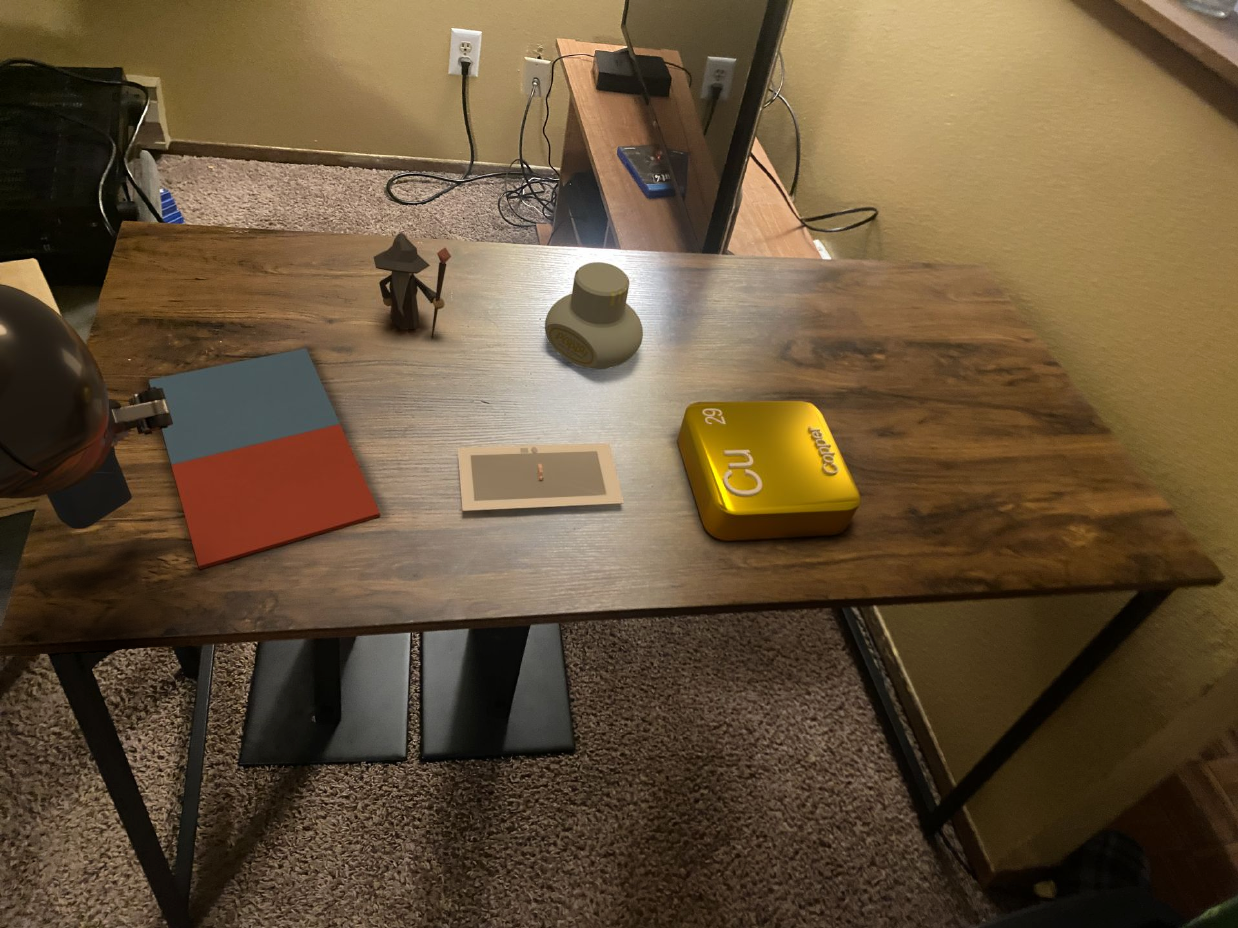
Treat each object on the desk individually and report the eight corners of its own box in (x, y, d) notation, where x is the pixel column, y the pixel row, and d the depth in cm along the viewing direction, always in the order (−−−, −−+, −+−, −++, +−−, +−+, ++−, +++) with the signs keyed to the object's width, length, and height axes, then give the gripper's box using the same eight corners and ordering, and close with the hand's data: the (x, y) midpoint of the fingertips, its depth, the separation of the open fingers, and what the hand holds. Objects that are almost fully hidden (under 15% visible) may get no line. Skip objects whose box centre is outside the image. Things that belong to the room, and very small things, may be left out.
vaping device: (141, 496, 65) (95, 379, 56) (76, 537, 61) (17, 420, 53) (118, 479, 65) (70, 362, 57) (53, 519, 62) (-8, 401, 53)
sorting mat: (199, 569, 68) (198, 566, 68) (149, 383, 81) (148, 379, 81) (380, 516, 75) (379, 513, 74) (306, 351, 88) (306, 347, 87)
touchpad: (622, 510, 79) (625, 495, 78) (462, 518, 76) (462, 502, 74) (607, 450, 85) (610, 435, 83) (457, 455, 81) (457, 439, 80)
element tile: (852, 536, 82) (870, 504, 78) (707, 543, 78) (719, 511, 75) (803, 427, 91) (817, 395, 88) (672, 430, 88) (681, 396, 85)
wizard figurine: (372, 337, 91) (364, 242, 82) (383, 306, 95) (376, 212, 86) (449, 347, 92) (449, 253, 83) (456, 316, 95) (457, 223, 87)
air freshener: (649, 356, 96) (666, 284, 89) (607, 390, 91) (621, 317, 83) (575, 313, 99) (585, 240, 92) (530, 343, 94) (537, 269, 87)
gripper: (152, 333, 47) (164, 362, 63) (-169, 387, 41) (-69, 406, 56) (190, 460, 48) (193, 459, 63) (-119, 532, 42) (-33, 512, 57)
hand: (69, 434), depth 60 cm, fingers closed on vaping device, 5 cm apart
